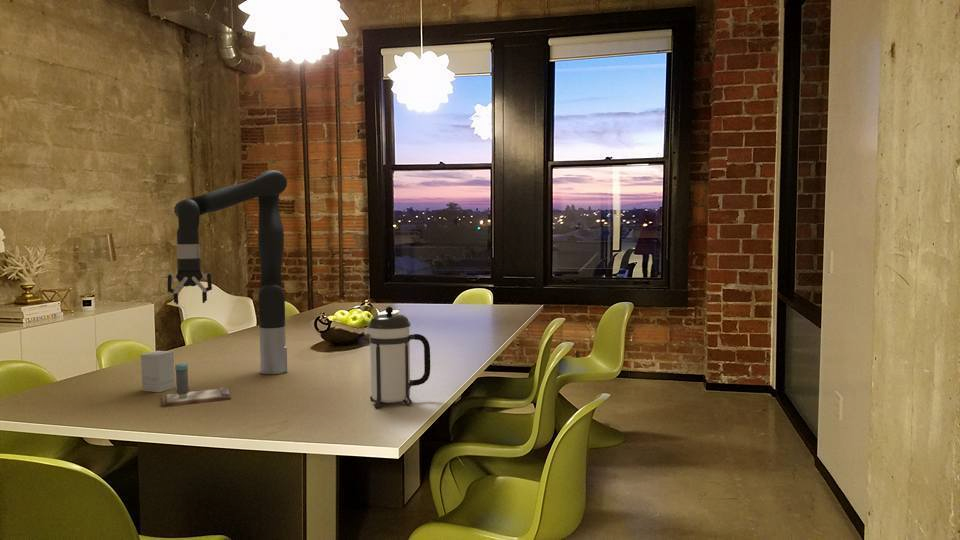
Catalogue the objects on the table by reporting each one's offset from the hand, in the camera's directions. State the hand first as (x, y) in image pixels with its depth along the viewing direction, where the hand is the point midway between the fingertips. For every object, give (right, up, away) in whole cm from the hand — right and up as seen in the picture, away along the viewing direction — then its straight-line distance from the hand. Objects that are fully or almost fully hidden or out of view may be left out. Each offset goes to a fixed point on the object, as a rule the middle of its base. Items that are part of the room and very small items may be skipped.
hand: (190, 303), depth 237 cm
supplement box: (-8, -29, -7) cm, 31 cm away
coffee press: (+75, -30, -26) cm, 85 cm away
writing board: (+10, -29, -19) cm, 37 cm away
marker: (+7, -29, -22) cm, 37 cm away
